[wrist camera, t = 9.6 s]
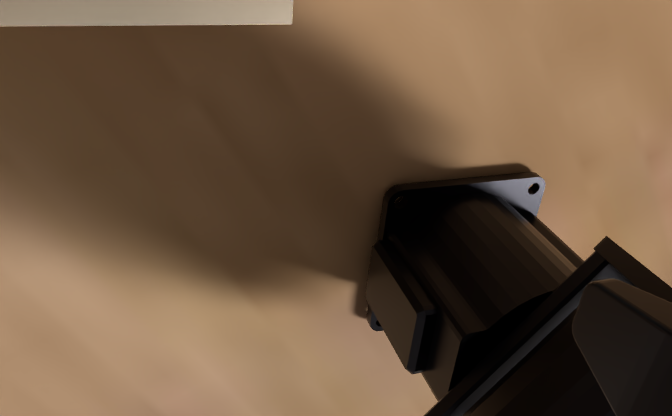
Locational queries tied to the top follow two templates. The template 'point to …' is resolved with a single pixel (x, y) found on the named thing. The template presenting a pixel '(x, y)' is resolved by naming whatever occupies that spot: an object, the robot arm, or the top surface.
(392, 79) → the top surface
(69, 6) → the beige patterned block
